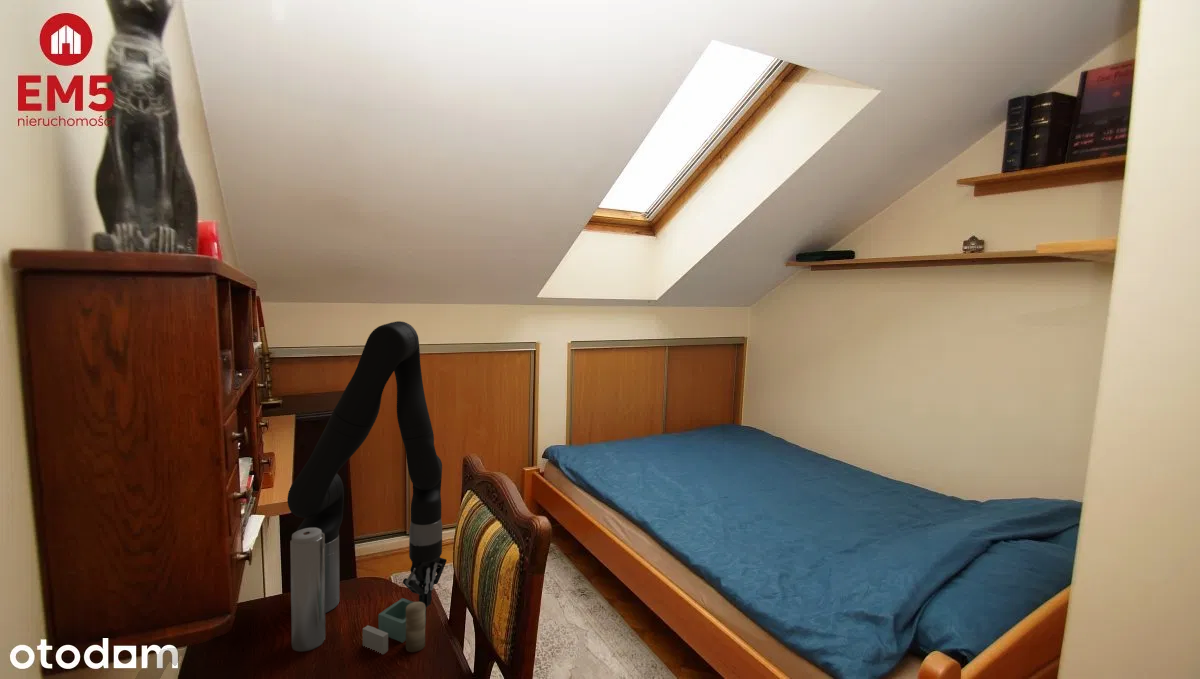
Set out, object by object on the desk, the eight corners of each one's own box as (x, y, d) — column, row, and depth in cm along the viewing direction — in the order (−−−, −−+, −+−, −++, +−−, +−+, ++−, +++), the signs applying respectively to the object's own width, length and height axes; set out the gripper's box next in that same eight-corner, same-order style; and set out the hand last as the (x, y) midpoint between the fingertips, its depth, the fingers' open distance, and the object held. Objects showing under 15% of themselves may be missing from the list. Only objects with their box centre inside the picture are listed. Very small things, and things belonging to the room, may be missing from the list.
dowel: (401, 648, 113) (401, 609, 112) (415, 637, 116) (415, 599, 116) (415, 654, 111) (415, 614, 110) (429, 643, 115) (429, 604, 114)
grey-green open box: (378, 633, 118) (378, 614, 117) (402, 615, 124) (402, 597, 124) (402, 642, 115) (402, 623, 114) (425, 624, 121) (425, 606, 121)
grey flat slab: (362, 646, 113) (362, 628, 113) (367, 642, 114) (367, 625, 114) (383, 654, 111) (383, 636, 110) (388, 650, 112) (388, 633, 112)
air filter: (310, 654, 110) (309, 541, 108) (284, 649, 111) (282, 537, 109) (332, 635, 116) (331, 527, 114) (307, 630, 118) (306, 524, 116)
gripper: (432, 523, 132) (432, 587, 134) (393, 545, 120) (392, 616, 122) (456, 529, 129) (455, 595, 131) (418, 552, 117) (417, 625, 119)
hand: (425, 605), depth 126 cm, fingers closed
